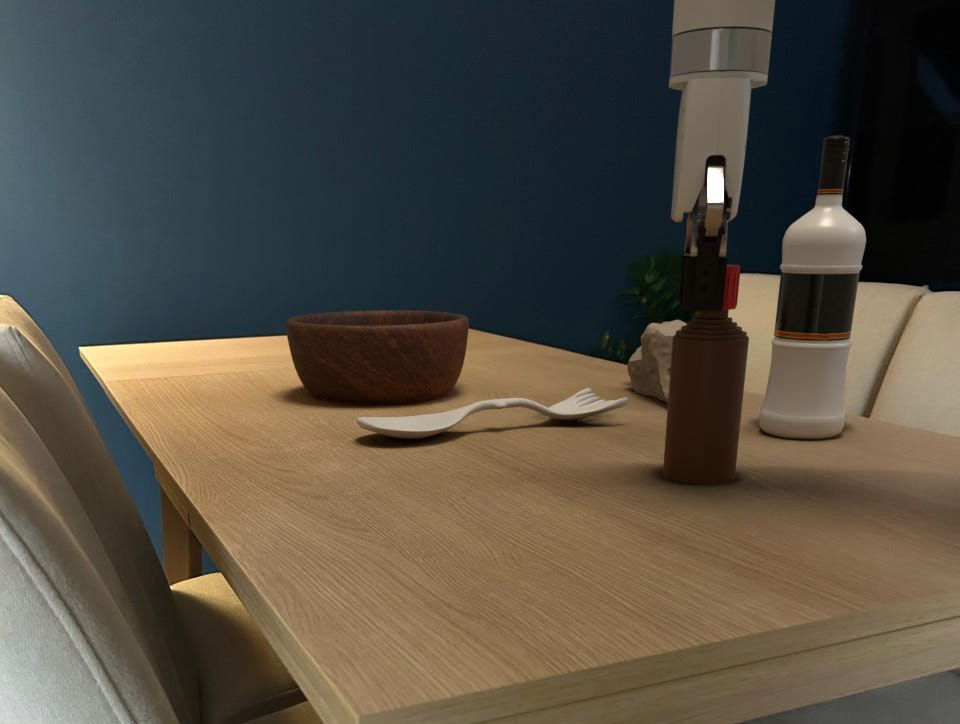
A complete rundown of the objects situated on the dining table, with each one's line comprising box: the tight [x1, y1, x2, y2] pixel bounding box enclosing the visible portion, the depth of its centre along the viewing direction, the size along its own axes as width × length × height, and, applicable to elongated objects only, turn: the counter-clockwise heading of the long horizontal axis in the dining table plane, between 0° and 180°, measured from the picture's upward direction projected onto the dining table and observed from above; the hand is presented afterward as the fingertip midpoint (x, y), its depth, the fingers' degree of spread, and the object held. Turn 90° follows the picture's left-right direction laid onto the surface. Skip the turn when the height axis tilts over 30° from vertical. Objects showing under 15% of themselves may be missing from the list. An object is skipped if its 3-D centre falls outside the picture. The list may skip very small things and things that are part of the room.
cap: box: [722, 264, 741, 311], centre depth 82 cm, size 4×4×3 cm
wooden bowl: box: [284, 309, 470, 405], centre depth 135 cm, size 25×25×10 cm
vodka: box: [758, 135, 867, 440], centre depth 104 cm, size 9×9×30 cm
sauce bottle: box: [662, 310, 750, 485], centre depth 85 cm, size 6×6×18 cm
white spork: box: [356, 387, 629, 440], centre depth 111 cm, size 9×32×3 cm, turn 116°
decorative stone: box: [626, 319, 687, 405], centre depth 130 cm, size 20×8×10 cm, turn 12°
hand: (699, 305), depth 82 cm, fingers open, 6 cm apart
